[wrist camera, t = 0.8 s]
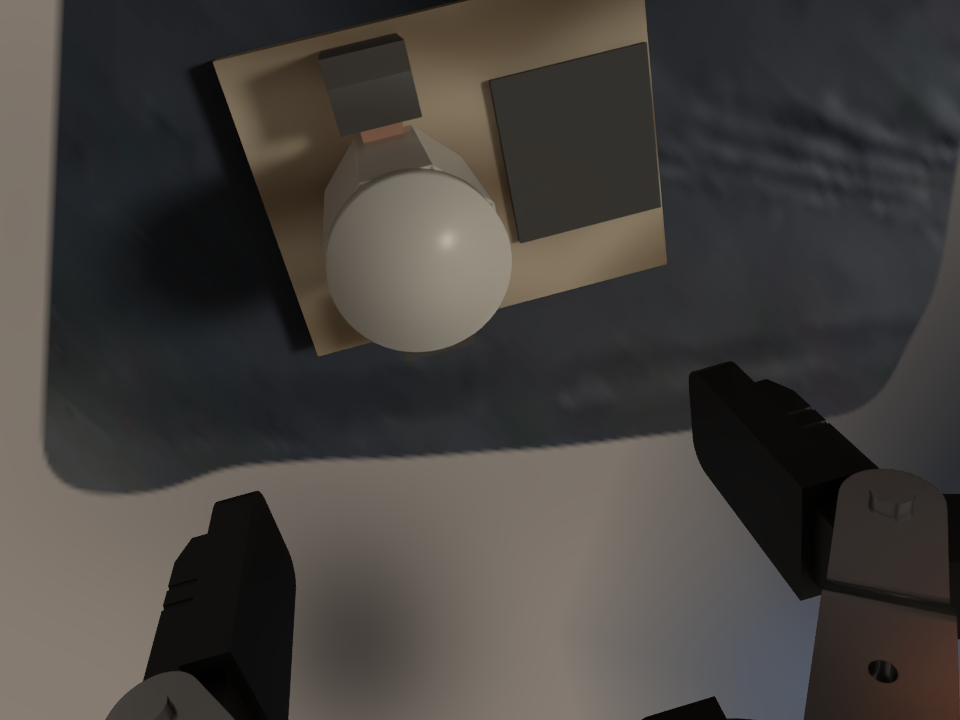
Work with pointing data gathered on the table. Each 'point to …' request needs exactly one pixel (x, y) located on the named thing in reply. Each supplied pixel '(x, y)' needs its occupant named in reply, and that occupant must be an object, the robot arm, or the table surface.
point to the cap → (412, 242)
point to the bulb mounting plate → (436, 112)
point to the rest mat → (578, 141)
